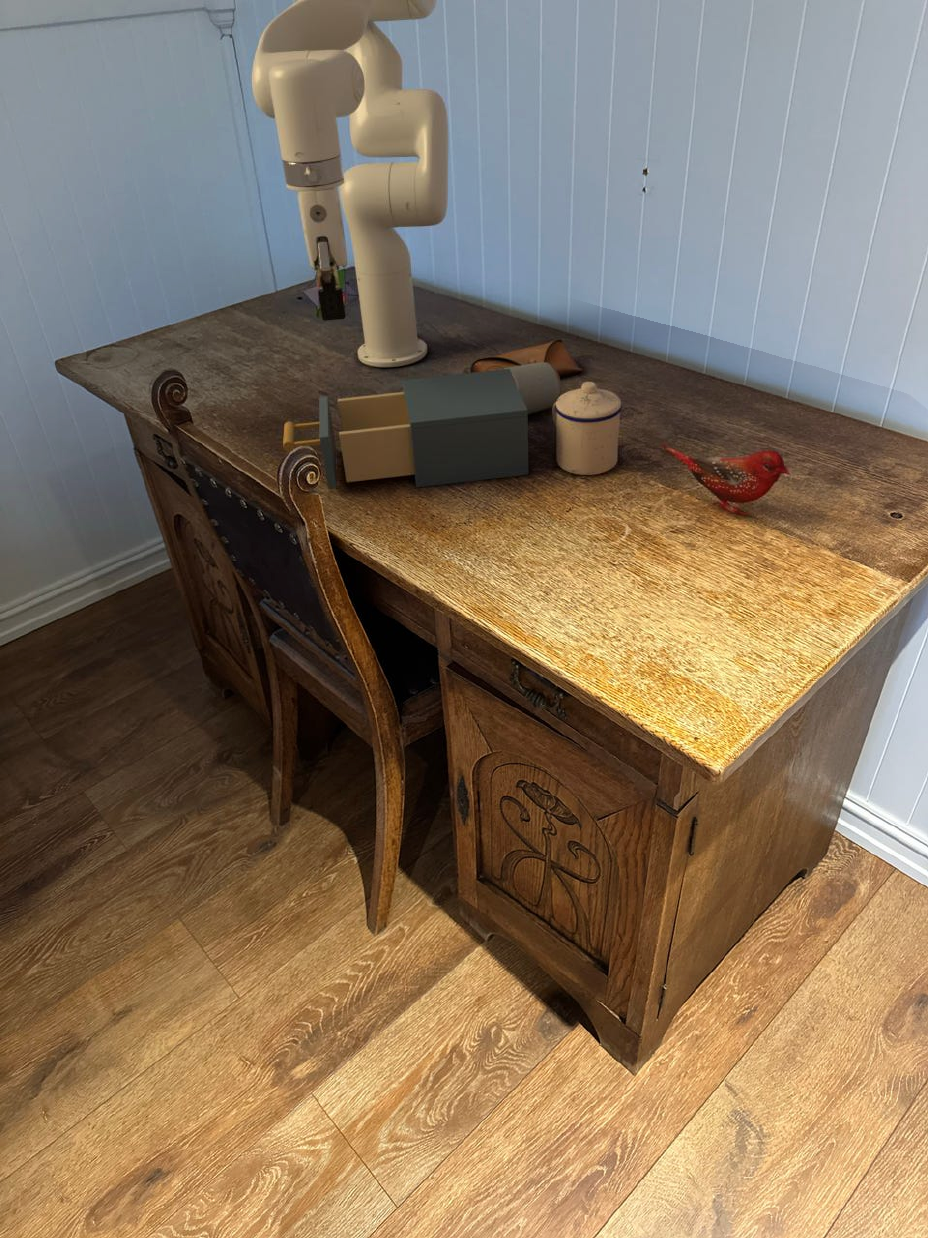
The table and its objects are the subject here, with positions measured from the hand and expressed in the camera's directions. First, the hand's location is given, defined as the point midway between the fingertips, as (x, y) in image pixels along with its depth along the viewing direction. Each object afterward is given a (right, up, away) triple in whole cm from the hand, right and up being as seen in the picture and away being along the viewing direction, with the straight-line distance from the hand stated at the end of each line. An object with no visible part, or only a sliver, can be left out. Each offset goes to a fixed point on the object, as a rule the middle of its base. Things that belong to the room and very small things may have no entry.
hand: (333, 308), depth 127 cm
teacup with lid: (+35, -21, +2) cm, 41 cm away
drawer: (+3, -21, +3) cm, 22 cm away
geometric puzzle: (0, -1, 0) cm, 1 cm away
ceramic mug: (+28, -10, +16) cm, 34 cm away
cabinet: (+19, -20, +4) cm, 28 cm away
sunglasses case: (+29, -3, +26) cm, 39 cm away
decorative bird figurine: (+51, -29, -10) cm, 60 cm away
